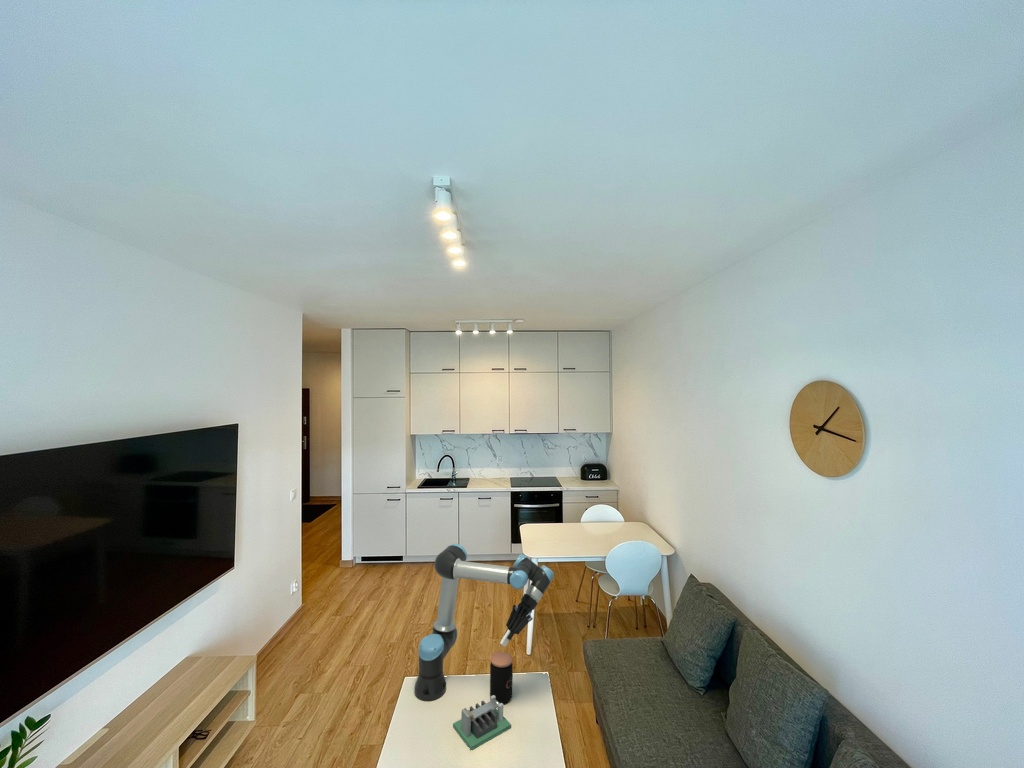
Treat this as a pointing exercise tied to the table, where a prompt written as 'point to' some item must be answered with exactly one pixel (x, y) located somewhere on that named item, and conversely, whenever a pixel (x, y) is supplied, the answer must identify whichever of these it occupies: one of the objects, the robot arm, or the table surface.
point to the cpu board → (481, 726)
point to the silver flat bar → (484, 709)
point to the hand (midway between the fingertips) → (502, 645)
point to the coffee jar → (501, 677)
